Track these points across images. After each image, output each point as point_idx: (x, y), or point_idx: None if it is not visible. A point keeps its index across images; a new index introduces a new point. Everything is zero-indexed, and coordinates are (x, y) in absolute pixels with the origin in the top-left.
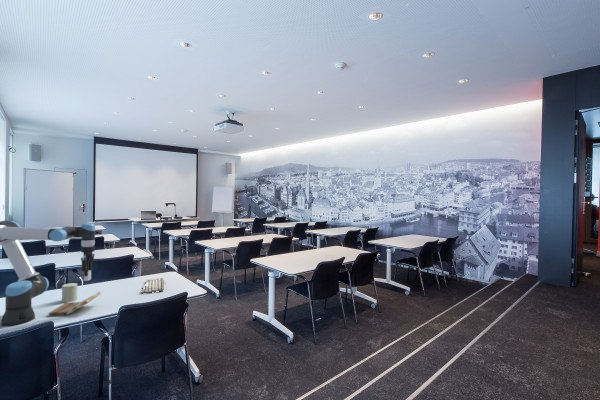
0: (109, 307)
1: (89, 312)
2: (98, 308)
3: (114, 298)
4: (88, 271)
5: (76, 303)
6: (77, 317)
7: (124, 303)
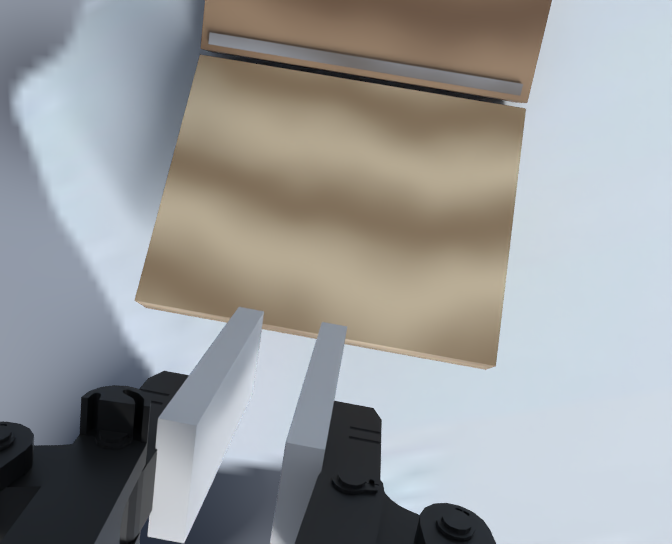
0: None
1: None
2: None
3: (635, 414)
4: (150, 526)
5: (470, 82)
6: (126, 200)
7: None
